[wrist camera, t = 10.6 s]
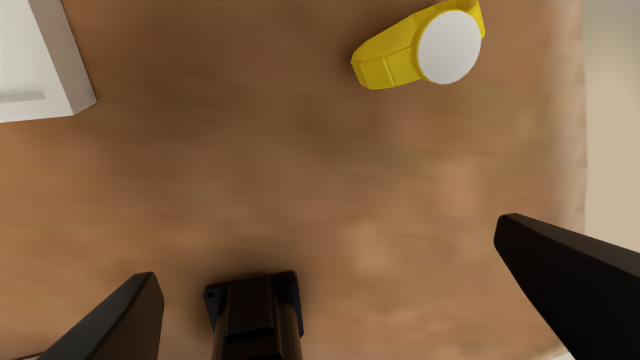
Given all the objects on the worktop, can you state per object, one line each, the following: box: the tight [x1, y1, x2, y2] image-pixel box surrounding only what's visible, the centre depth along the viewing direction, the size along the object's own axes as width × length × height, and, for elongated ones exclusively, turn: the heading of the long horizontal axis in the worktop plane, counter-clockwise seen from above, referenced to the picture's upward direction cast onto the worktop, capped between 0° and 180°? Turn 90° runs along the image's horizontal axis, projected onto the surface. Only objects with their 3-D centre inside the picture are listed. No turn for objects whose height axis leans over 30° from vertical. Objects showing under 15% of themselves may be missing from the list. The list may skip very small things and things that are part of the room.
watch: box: [351, 0, 485, 90], centre depth 16 cm, size 6×3×6 cm, turn 118°
